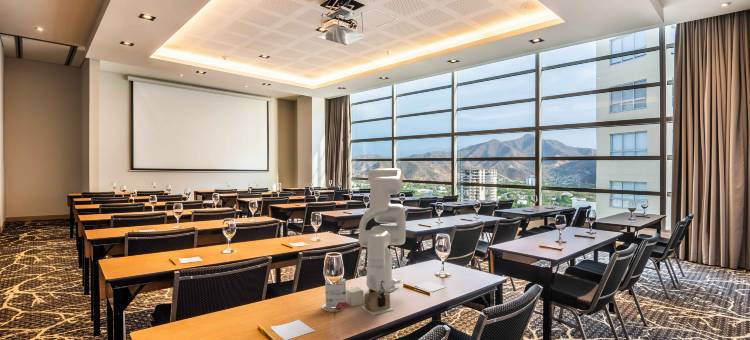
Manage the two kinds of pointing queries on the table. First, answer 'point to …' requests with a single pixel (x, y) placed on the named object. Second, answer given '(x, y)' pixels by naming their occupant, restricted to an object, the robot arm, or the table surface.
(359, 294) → the cream brick
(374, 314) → the mat
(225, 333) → the table surface
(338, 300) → the ink box
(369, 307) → the walnut brick
